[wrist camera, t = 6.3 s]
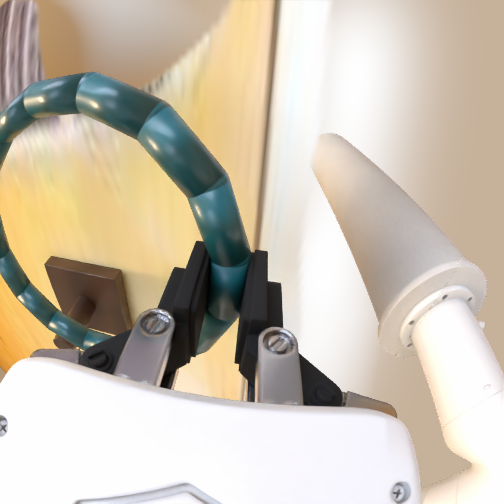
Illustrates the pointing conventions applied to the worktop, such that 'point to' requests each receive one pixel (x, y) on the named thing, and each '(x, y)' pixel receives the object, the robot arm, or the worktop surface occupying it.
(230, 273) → the ring
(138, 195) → the worktop surface
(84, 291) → the stand
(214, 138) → the worktop surface
